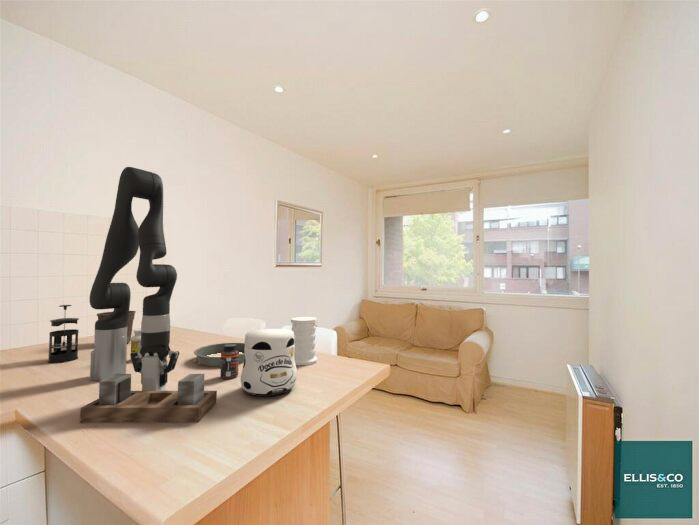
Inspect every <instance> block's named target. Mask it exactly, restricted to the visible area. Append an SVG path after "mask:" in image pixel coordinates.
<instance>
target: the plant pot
mask: <svg viewBox="0 0 699 525" xmlns="http://www.w3.org/2000/svg"><path fill="white" fill-rule="evenodd" d="M112 312H113V311H103V312H99V313H96V316H97V320H99V319H102V318H104V317H106V316H108V315H110V314H111V313H112ZM136 313H137V311H136V310H129V319H128V324H127V343H128V344H130V343H131V342H130V341H131V338H132V335H133V333H132V332H133V326H134V325H133V324H134V320H135V315H136ZM129 342H130V343H129Z"/></svg>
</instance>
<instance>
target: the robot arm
mask: <svg viewBox="0 0 699 525" xmlns="http://www.w3.org/2000/svg"><path fill="white" fill-rule="evenodd" d="M115 197H116V198H115V205H114V210H113V214H112V218H111V221H110V225H109V228H108V231H107V234H106V240H105V243H104V248H103V252H102V257H101V260H100V264H99V267H98V270H97V273H96V274H95V275H96V276H95V278H94V280H93V284H92V287H91V288H90V289H91V290H90V293H89V305H90V307H91V308H92V309H94V310H113V311H111V312H112V313H111V314H110V315H108V316H106V317H104V318H102V319H99V320H98V319H97V320H96V321H95V323H94V344H93V350H92V351H91V352H90V363H89V364H90V367H89V368H90V370H89V379H90V380H93V381H96V382H99V381H102V380H104V379H106V378H108V377H110V376H113V375H115V374H127V353H128V351H127V349H128V344H127V324H128V319H129V311H130V306H131V288H130V286H129V284H128V283H126V282H112V280H113V279H114V277H115V276H116V275H117V274H118V272H120V270H121V269H123V268H124V267H125V266H127V265H128V264H129V263H130V262H131V261H132V260H133V259H134V258H135V257H136V256H137V253H138V250H139V260H138V266H137V270H136V277H135V278H136V282H137V283H138V285H140V287H143V288H159V289H158V290H157V292H155V293H153V294H151V295H150V294H149V295H146V296H145V297H143V300H142V318H141V325H140V326H141V328H140V329H141V346H142V347H141V350H140V351H136V352H133V353H131V352H130V355H129V356H130V361H131V360H132V361H131V363H132V367H133V371H134V372H135V373H139V374H141V375H140V378H141V379H140V383H141V385H142V362H143V361H142V360H141V356H142V357H143V358H144V357H149V356H154V357H159V368H160V369H159V370H160V373H161V374H160V379H159V386H160V387H163V386H164V385H165V384H166V385H167V383H168V373H170V372H172V371H174V370H175V369H176V366H177V362H178V359H179V357H180V356H179V355H180V351H179V350H176V351H174V350H171V347H170V343H171V342H170V341H171V316H170V307H171V306H170V304H171V303H170V302H171V298H172V295H173V291H174V289H175V285H176V283H177V279H178V273H177V270H176V268H175V267H174V266H173V265H171V264H164V263H163V264H157V263H155V264H154V263H153V260H159V259H162V258H165V257H166V256H167V246H166V240H165V234H164V233H165V232H164V221H163V220H164V184H163V179H162V177H161V176H160V175H159V174H157V173H154V172H152V171H148V170H144V169H142V168H141V169H140V168H137V167H134V166H126V167H124V168H123V170H122V171H121V173H120V176H119V180H118V184H117V191H116V196H115ZM134 198H136V199H137V198H138V199H140V200H141V199H142V200H147V201H148V203H149V209H148V212H147V214H146V216H144V219H143V220H142V221H141V223H140V225H138V224H137V221H136V219H135V217H134V214H133V210H132V204H133V199H134ZM166 357H168V358H169V361H168V359H167V358H166ZM162 361H164V362H163V363H162Z"/></svg>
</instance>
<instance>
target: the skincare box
mask: <svg viewBox="0 0 699 525" xmlns="http://www.w3.org/2000/svg"><path fill="white" fill-rule="evenodd" d="M167 357H168V356H167ZM167 357H166V358H167ZM163 362H164V361H162V363H163ZM159 369H160V368H159V357H154V356H149V357H144V358H143V361H142V384H141V391H167V383H166V384H165V385H164V386H163V387H160V386H159V379H160V374H161V373H160V370H159Z"/></svg>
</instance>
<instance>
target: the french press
mask: <svg viewBox="0 0 699 525" xmlns="http://www.w3.org/2000/svg"><path fill="white" fill-rule="evenodd" d="M58 307H63V310H64V315H63V316H64V317H63V318H62V317H61V318H56V319H51V320H50V321H49V322H50V323H51V325H50V326H51V327H60V326H62V325H63V329H58V330H53V331H49V338H48V339H49V340H48V343H49V344H48V358H47V359H48V360H47V363H49V364H62V363H68V362H73V361H75V360H78V359H79V356H78V355H79V353H78V352H79V351H78V346H79V344H78V342H79V332H80V331H79V329H76V328H75V329H66V324H75V325H78V321H79V320H80V318H78V317H66V314H67V313H66V311H67V308H68V307H72V305H71V304H61V305H58ZM73 336H75V337H74V338H75V340H74V341H75V342H74V341H73ZM62 338H63V342H62ZM65 338H66V339H65ZM65 340H66V341H65ZM73 347H74V349H73ZM64 348H65V349H64ZM52 349H53V350H52Z"/></svg>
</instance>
